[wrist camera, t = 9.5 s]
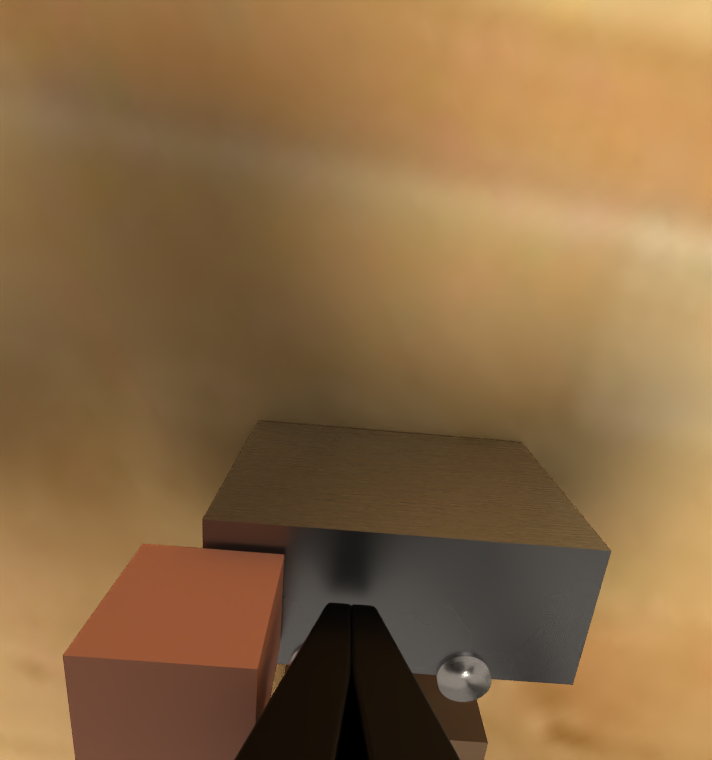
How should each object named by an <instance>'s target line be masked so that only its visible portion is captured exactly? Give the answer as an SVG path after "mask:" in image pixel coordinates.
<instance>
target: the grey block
mask: <svg viewBox="0 0 712 760" xmlns="http://www.w3.org/2000/svg"><path fill="white" fill-rule="evenodd" d="M203 548H205V549H219V550H232V551H245V552H258V553H271V554H284V575H283V595H282V615H281V635H280V649H279V654H278V660H277V664H289V666H290V665H291V663H292V661H293V660H294V658H295V656H296V655H297V653H298V651H299V650H300V648H301V646H302V645H303V643H304V641H305V640H306V638H307V636H308V634H309V633H310V631H311V629H312V628H313V626H314V624H315V623H316V621H317V619H318V618H319V616H320V614H321V613H322V611H323V609H324V608H325V606H326V605H327V604H328V603H345V604H350V605H351V606H352V605H353V604H358V605H371V606H374V607H375V608H376V609H377V610H378V612H379V614H380V616H381V618H382V619H383V621H384V623H385V625H386V627H387V628H388V630H389V632H390V634H391V636H392V637H393V639H394V641H395V643H396V645H397V646H398V648H399V650H400V652H401V654H402V655H403V657H404V659H405V661H406V663H407V664H408V666H409V668H410V670H411V672H412V673H416V674H430V675H436V677H437V683H438V687H439V690H440V691H441V693H442V694H443V695H444V696H445V697H447V698H448V699H450V700H453V701H457V702H468V701H473V700H476V699H478V698H480V697H481V696H483V695H484V694H485V693H486V692H487V691H488V689H489V688H490V685H491V679H500V680H514V681H528V682H542V683H556V684H570V685H573V682H574V678H575V675H576V671H577V668H578V665H579V661H580V658H581V654H582V651H583V647H584V644H585V640H586V637H587V633H588V630H589V626H590V623H591V619H592V616H593V612H594V609H595V605H596V602H597V598H598V595H599V591H600V588H601V584H602V581H603V577H604V574H605V571H606V567H607V564H608V560H609V557H610V553H611V550H610V549H609V548H608V546H607V545H606V544H605V543H604V542H603V540H602V539H601V538H600V537H599V535H598V534H597V533H596V532H595V531H594V529H593V528H592V527H591V526H590V525H589V523H588V522H587V521H586V520H585V518H584V517H583V516H582V515H581V514H580V512H579V511H578V510H577V509H576V508H575V506H574V505H573V504H572V503H571V501H570V500H569V499H568V498H567V497H566V495H565V494H564V493H563V492H562V491H561V489H560V488H559V487H558V486H557V484H556V483H555V482H554V481H553V480H552V478H551V477H550V476H549V475H548V474H547V472H546V471H545V470H544V469H543V467H542V466H541V465H540V464H539V463H538V461H537V460H536V459H535V458H534V457H533V455H532V454H531V453H530V452H529V450H528V449H527V448H526V447H525V446H524V444H523V443H522V442H512V441H500V440H488V439H476V438H464V437H451V436H439V435H427V434H415V433H403V432H390V431H378V430H366V429H354V428H342V427H330V426H317V425H305V424H293V423H281V422H269V421H258V422H257V424H256V425H255V427H254V429H253V431H252V432H251V434H250V436H249V438H248V439H247V441H246V443H245V445H244V447H243V448H242V450H241V452H240V454H239V455H238V457H237V459H236V461H235V463H234V464H233V466H232V468H231V470H230V471H229V473H228V475H227V477H226V478H225V480H224V482H223V484H222V486H221V487H220V489H219V491H218V493H217V494H216V496H215V498H214V500H213V502H212V503H211V505H210V507H209V509H208V510H207V512H206V514H205V516H204V517H203Z"/></svg>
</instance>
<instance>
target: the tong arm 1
mask: <svg viewBox="0 0 712 760" xmlns="http://www.w3.org/2000/svg"><path fill="white" fill-rule="evenodd" d="M413 675H414V677H415V679H416V681H417V682H418V684H419V686H420V688H421V690H422V691H423V693H424V695H425V697H426V699H427V700H428V702H429V704H430V706H431V708H432V709H433V711H434V713H435V715H436V717H437V718H438V720H439V722H440V724H441V726H442V727H443V729H444V731H445V733H446V735H447V736H448V738H449V740H450V742H451V744H452V745H453V747H454V749H455V751H456V753H457V755H458V756H459V758H460V760H484V756H485V752H486V748H487V744H488V742H487V738H486V734H485V730H484V727H483V723H482V719H481V715H480V711H479V707H478V704H477V700H473V701H468V702H457V701H453V700H450V699H448V698H447V697H445V696H444V695H443V694H442V693H441V691H440V690H439V687H438V683H437V677H436V675H430V674H416V673H413Z"/></svg>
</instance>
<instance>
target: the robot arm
mask: <svg viewBox="0 0 712 760" xmlns="http://www.w3.org/2000/svg"><path fill="white" fill-rule="evenodd" d="M234 760H460V758H459V756H458V755H457V753H456V751H455V749H454V747H453V745H452V744H451V742H450V740H449V738H448V736H447V735H446V733H445V731H444V729H443V727H442V726H441V724H440V722H439V720H438V718H437V717H436V715H435V713H434V711H433V709H432V708H431V706H430V704H429V702H428V700H427V699H426V697H425V695H424V693H423V691H422V690H421V688H420V686H419V684H418V682H417V681H416V679H415V677H414V675H413V673H412V672H411V670H410V668H409V666H408V664H407V663H406V661H405V659H404V657H403V655H402V654H401V652H400V650H399V648H398V646H397V645H396V643H395V641H394V639H393V637H392V636H391V634H390V632H389V630H388V628H387V627H386V625H385V623H384V621H383V619H382V618H381V616H380V614H379V612H378V610H377V609H376V608H375V607H374V606H371V605H358V604H353V605H352V606H351V605H350V604H345V603H328V604H327V605H326V606H325V608H324V609H323V611H322V613H321V614H320V616H319V618H318V619H317V621H316V623H315V624H314V626H313V628H312V629H311V631H310V633H309V634H308V636H307V638H306V640H305V641H304V643H303V645H302V646H301V648H300V650H299V651H298V653H297V655H296V656H295V658H294V660H293V661H292V663H291V665H290V666H289V668H288V670H287V671H286V673H285V675H284V677H283V678H282V680H281V682H280V683H279V685H278V687H277V688H276V690H275V692H274V693H273V695H272V697H271V698H270V700H269V702H268V703H267V705H266V707H265V708H264V710H263V712H262V714H261V715H260V717H259V719H258V720H257V722H256V724H255V725H254V727H253V729H252V730H251V732H250V734H249V735H248V737H247V739H246V740H245V742H244V744H243V746H242V747H241V749H240V751H239V752H238V754H237V756H236V757H235V759H234Z"/></svg>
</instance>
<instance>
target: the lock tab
mask: <svg viewBox="0 0 712 760" xmlns="http://www.w3.org/2000/svg"><path fill="white" fill-rule="evenodd" d="M283 575H284V554H271V553H258V552H245V551H232V550H219V549H205V548H192V547H179V546H166V545H153V544H142V546H141V547H140V548H139V550H138V551H137V553H136V554H135V555H134V557H133V558H132V560H131V561H130V562H129V564H128V565H127V567H126V568H125V569H124V571H123V572H122V573H121V575H120V576H119V578H118V579H117V580H116V582H115V583H114V585H113V586H112V587H111V589H110V590H109V592H108V593H107V594H106V596H105V597H104V599H103V600H102V601H101V603H100V604H99V606H98V607H97V608H96V610H95V611H94V613H93V614H92V615H91V617H90V618H89V620H88V621H87V622H86V624H85V625H84V626H83V628H82V629H81V631H80V632H79V633H78V635H77V636H76V638H75V639H74V640H73V642H72V643H71V645H70V646H69V647H68V649H67V650H66V652H65V653H64V654H63V661H64V669H65V678H66V686H67V694H68V702H69V711H70V719H71V727H72V735H73V744H74V752H75V760H234V759H235V757H236V756H237V754H238V752H239V751H240V749H241V747H242V746H243V744H244V742H245V740H246V739H247V737H248V735H249V734H250V732H251V730H252V729H253V727H254V725H255V724H256V722H257V720H258V719H259V717H260V715H261V714H262V712H263V710H264V708H265V707H266V705H267V703H268V702H269V700H270V696H271V691H272V685H273V680H274V675H275V670H276V665H277V660H278V654H279V649H280V635H281V615H282V595H283Z"/></svg>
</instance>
